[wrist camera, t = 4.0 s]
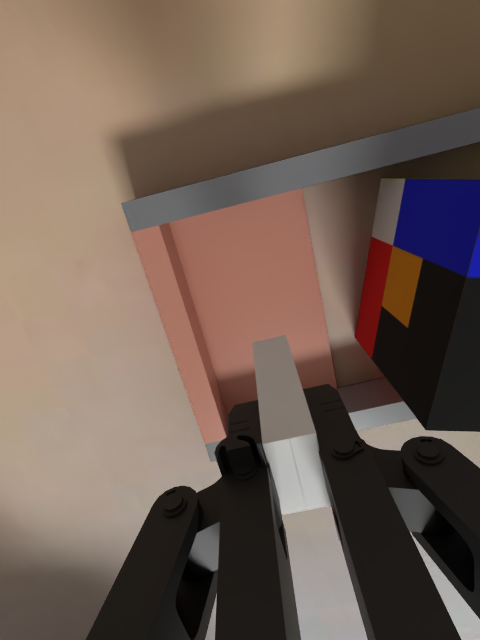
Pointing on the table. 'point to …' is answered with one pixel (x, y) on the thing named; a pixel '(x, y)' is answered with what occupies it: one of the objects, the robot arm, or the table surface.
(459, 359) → the puzzle toy
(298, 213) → the trap box
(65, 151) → the table surface
